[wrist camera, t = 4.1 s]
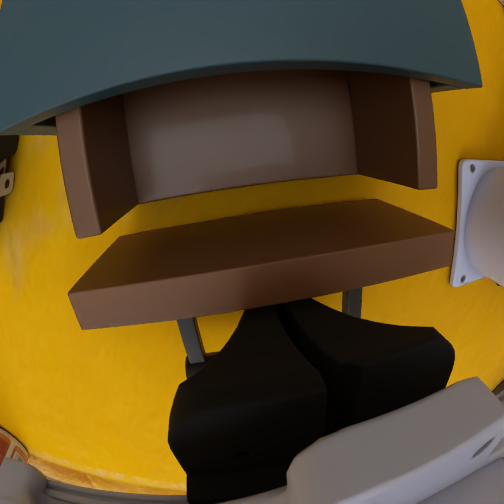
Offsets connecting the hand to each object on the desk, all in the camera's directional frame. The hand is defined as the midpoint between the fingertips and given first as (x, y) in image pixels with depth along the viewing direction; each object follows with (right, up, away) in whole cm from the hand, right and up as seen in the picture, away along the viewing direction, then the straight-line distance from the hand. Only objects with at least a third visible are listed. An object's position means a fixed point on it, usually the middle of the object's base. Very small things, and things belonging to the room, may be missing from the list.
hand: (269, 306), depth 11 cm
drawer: (-1, +7, 0) cm, 7 cm away
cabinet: (-2, +15, -2) cm, 15 cm away
